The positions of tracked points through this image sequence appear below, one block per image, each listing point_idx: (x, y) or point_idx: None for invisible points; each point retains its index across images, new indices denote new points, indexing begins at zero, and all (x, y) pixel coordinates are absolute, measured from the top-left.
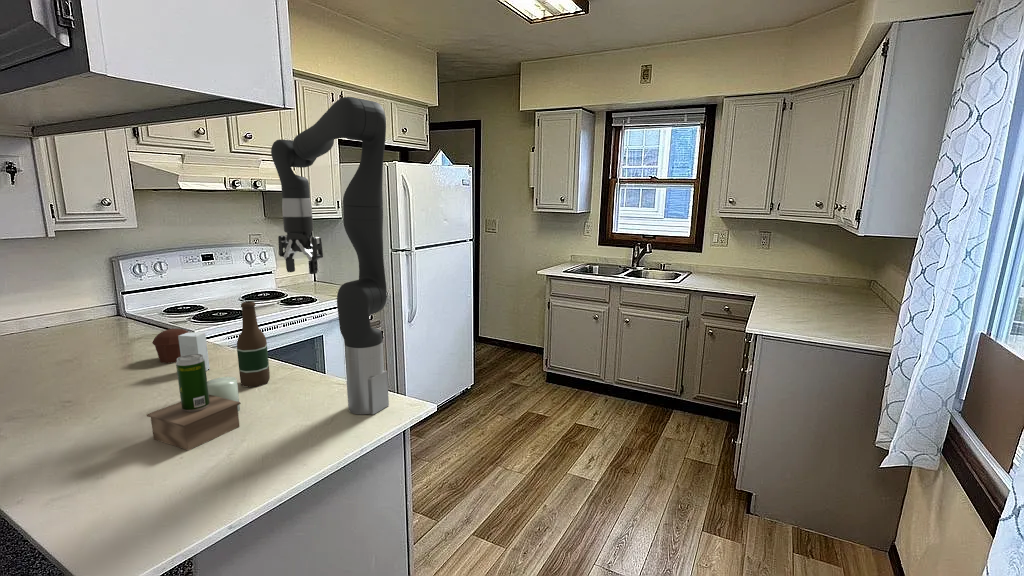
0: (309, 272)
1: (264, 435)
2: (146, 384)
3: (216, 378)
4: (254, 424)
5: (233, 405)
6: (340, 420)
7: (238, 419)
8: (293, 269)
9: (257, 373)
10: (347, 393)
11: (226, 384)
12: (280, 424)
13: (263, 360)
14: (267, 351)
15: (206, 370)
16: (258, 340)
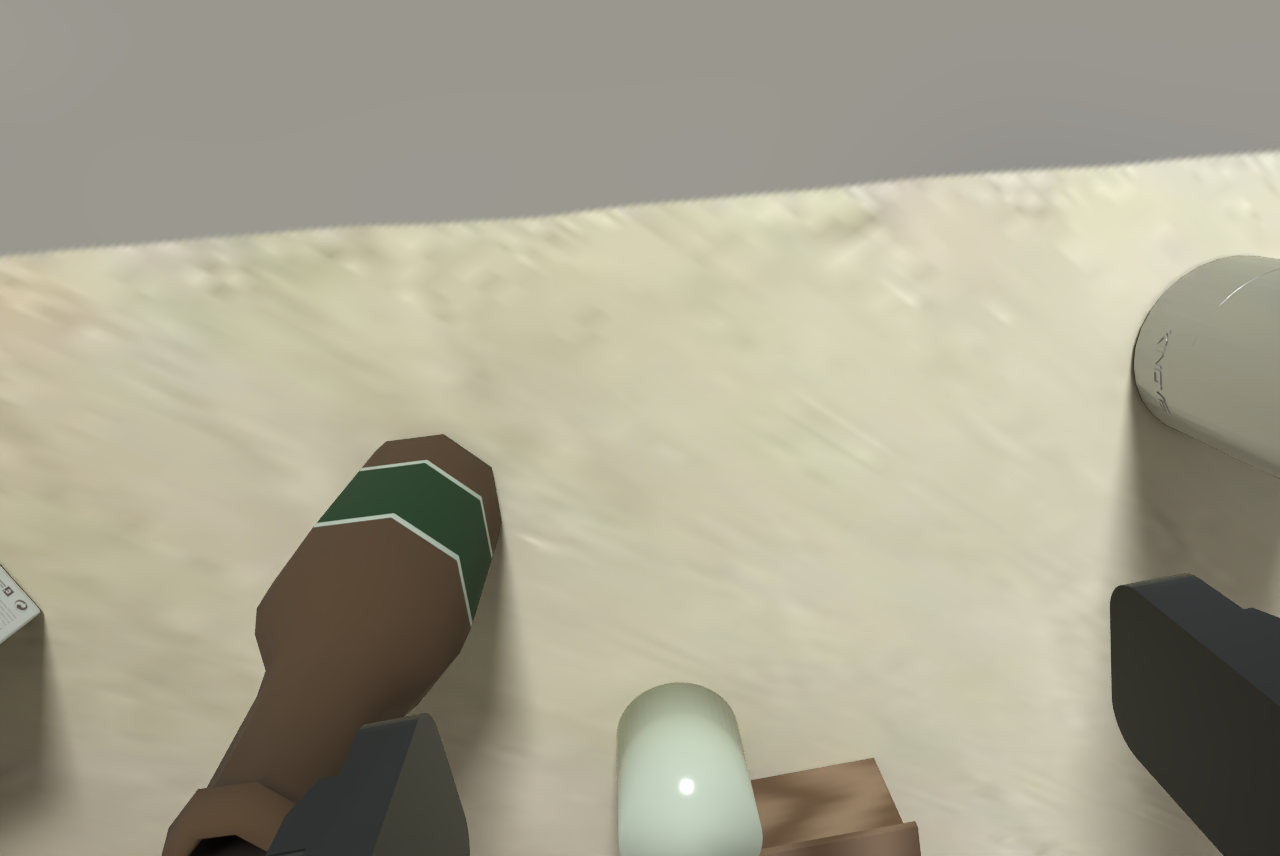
0: (1142, 757)
1: (1025, 737)
2: (26, 809)
3: (623, 836)
4: (904, 718)
5: (919, 852)
6: (1202, 504)
7: (883, 781)
8: (431, 775)
9: (493, 551)
10: (1227, 453)
11: (751, 840)
12: (998, 662)
13: (475, 538)
14: (408, 497)
15: (6, 574)
16: (445, 628)
